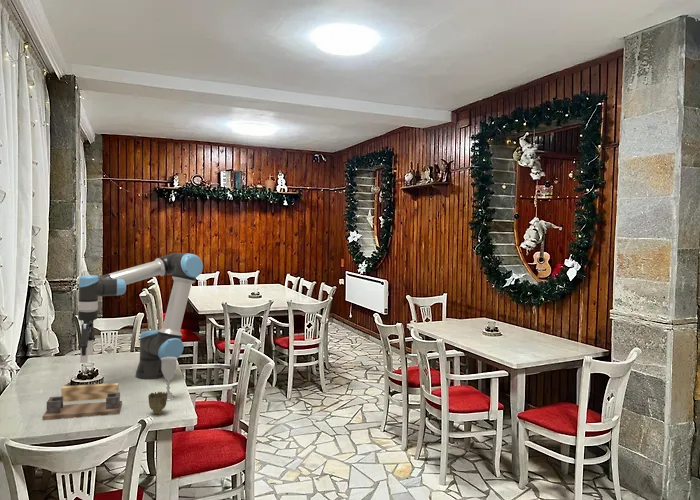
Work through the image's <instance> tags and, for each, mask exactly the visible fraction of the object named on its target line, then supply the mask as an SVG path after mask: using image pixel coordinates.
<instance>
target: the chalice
mask: <svg viewBox="0 0 700 500" xmlns="http://www.w3.org/2000/svg"><path fill="white" fill-rule="evenodd" d="M177 360H178V358H176V357H163V358H161V361H162V367H161V370H162V373H163V375H164V379H165V380H166V387H165V388H166V392H167V394H168V395H167V399H172V398H173V397H174V395H173V393H172V392H170V389H171V387H170V385H171V383H170V382H171V381H170V380H172V379H173V377H174V375H175V374H176V369H177ZM172 400H173V399H172Z"/></svg>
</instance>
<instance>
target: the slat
mask: <svg viewBox="0 0 700 500" xmlns="http://www.w3.org/2000/svg"><path fill="white" fill-rule="evenodd" d="M119 385H120V383H119V382H113V383H111V382H110V383H96V384H93V383H92V384H79V385H77V384H76V385H65V386H64V385H63V386H61V394H60V395H61V396H63V403H64V402H73V401H74V402H75V401H76V402H78V401H89V400H103V399H104V400H106V397H107V395H108V393H118V392H119Z"/></svg>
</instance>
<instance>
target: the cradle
mask: <svg viewBox="0 0 700 500" xmlns="http://www.w3.org/2000/svg"><path fill="white" fill-rule="evenodd" d="M120 398H121V392H120V391H118V393H108V395H107V397H106V399H105V401H101V402H100V401H99V402H87V403H74V404H73V403H72V404H71V403H70V404H64V402H63V396H60V395H59V396H50V397H49V399H47V401H46V411H45V412H44V414H43V415H42V421H47V420H48V421H49V420H61V418H64V419H73V418H74V417H76V418H83V417H82V416H88V417H95V416H94V415H101V416H109V415H108V414H113V415H120V413H121V409H122V405H123V401H122V400H121V399H120Z"/></svg>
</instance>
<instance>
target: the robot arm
mask: <svg viewBox="0 0 700 500" xmlns="http://www.w3.org/2000/svg"><path fill="white" fill-rule="evenodd" d="M203 269H204V263H203V261H202V259H201V258H200V257H199V255H196V254H193V253H186V252H174V253H170V254H166V255H163V256H160V257H158V258H155V259H154V261H150V262H146V263H142V264H139V265H135V266H132V267H129V268H125V269H121V270H117V271H114V272H111V273H107V274H103V275H95V274H89V275H88V274H84V275H83V274H82V275H81V276H79V279H78V302H77V303H76V305H77V306H78V307H77V309H78V310H79V311H78V312H77V314H78V315H77V319H78V321H83V323H81V326H80V327H81V330H80V331H81V332H80V338H79V339H80V342H79V345H78V346H77V348H78V349H80V354H79V355H80V357H79V358H80V359H79V363H80V364H85V363H88V360H89V359H88V357H89V356H93V355H94V341H95V340H96V337H95V328H94V321H96V320H97V319H98V311H97V310H98V309H99V297H109V296H110V297H113V296H116V297H117V296H122V295H124V294H125V293H126V291H127V285H130V284H134V283H136V282H140V281H144V280H147V279H150V278H153V277H157V276H160V277H164V276H167V275H171V278H172V280H173V284H172V288H171V291H170V292H171V293H170V295H169V300H168V304H167V308H166V312H165V317H164V320H163V325H162V327H161V328H160V329H154V330H146V331H145V330H144V331H142V332H141V333H140V336H139V362H138V364H137V367H136V369H135V378H137V379H142V380H152V379H153V380H154V379H160V378H163V377H164V375H163V373H162V370H161V367H162V361H161V358H163V357H176V358H177V359H178V358H179V357H180V356H181V355H182V354H183V351H184V349H185V348H184V347H185V346H184V343H183V341H182V338H183V334H182V332H181V329H182V324H183V320H184V315H185V311H186V307H187V303H188V301H189V300H188V299H189V296H190V292H191V288H192V284H194V283H196V281H197V277H199V276H200V275H201V274H202V272H203ZM164 378H165V377H164Z"/></svg>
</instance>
